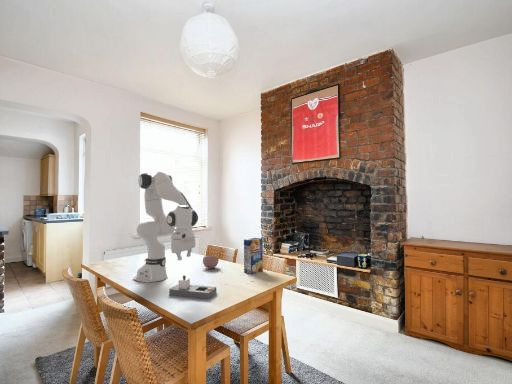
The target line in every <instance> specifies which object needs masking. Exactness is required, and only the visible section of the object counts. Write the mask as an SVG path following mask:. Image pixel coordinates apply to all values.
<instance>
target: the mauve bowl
mask: <svg viewBox="0 0 512 384" xmlns="http://www.w3.org/2000/svg"><path fill="white" fill-rule="evenodd" d="M219 262H220V260H219V258H218V257H217V256H213V255H212V253H211V252H210V253H208V255H206V256H203V258H202V264H203V266H204V268H206V269H214V268H216V267H217V266H218V264H219Z"/></svg>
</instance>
